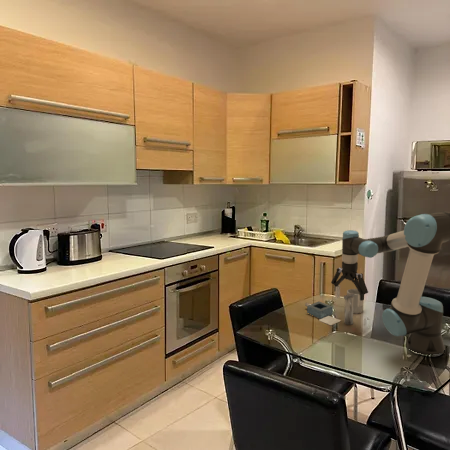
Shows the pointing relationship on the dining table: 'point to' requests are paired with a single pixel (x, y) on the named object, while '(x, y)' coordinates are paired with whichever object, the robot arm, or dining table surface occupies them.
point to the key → (349, 308)
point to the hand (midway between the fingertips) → (348, 301)
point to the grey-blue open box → (319, 309)
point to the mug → (355, 301)
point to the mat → (329, 320)
